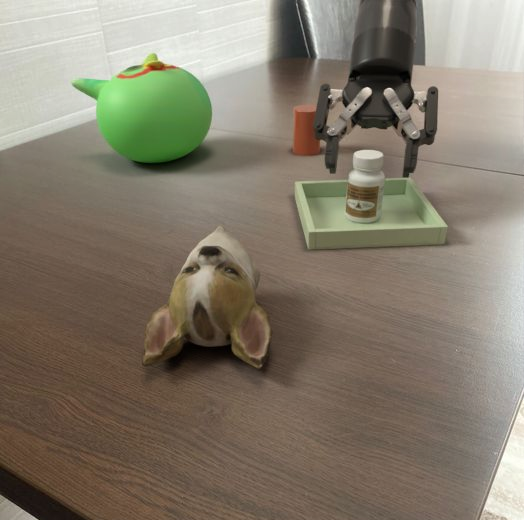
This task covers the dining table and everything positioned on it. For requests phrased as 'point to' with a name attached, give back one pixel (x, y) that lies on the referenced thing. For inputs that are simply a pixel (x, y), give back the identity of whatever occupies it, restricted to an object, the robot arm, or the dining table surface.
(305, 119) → the terracotta cylinder
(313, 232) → the sage tray
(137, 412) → the dining table surface
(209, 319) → the ceramic sculpture
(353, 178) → the pill bottle
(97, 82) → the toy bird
